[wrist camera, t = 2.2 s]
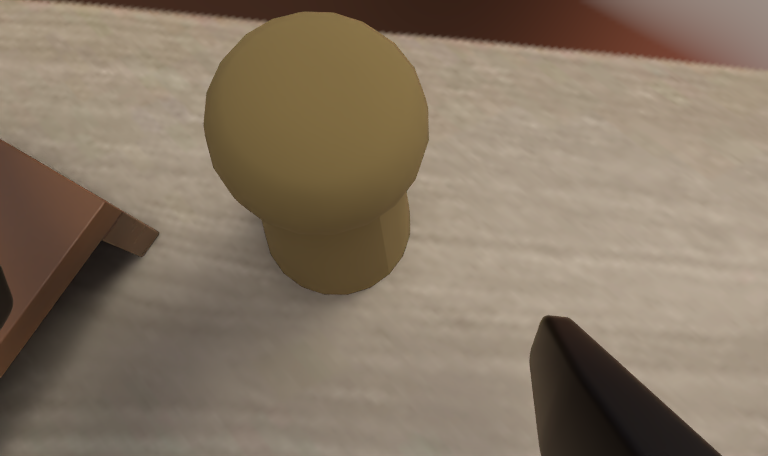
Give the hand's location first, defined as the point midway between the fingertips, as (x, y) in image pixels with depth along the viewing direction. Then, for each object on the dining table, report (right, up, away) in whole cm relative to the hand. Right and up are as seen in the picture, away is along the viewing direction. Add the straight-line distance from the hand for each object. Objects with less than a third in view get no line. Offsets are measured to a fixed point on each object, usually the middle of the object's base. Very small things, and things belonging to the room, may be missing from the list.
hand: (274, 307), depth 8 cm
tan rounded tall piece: (0, +2, +13) cm, 13 cm away
